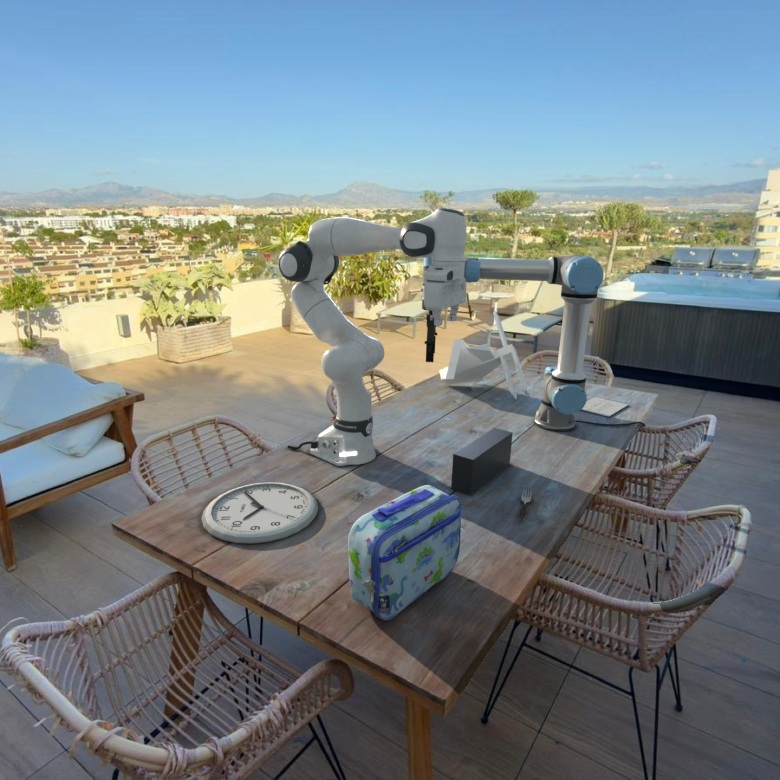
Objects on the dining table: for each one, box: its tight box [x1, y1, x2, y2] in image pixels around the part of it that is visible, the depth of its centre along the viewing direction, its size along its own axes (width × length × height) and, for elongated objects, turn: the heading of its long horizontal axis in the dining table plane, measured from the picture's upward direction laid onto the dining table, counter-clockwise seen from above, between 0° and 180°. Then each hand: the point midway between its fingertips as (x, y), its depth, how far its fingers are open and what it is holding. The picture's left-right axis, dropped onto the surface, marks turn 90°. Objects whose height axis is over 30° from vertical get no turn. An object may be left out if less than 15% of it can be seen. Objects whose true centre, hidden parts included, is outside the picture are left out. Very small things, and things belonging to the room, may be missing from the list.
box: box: [450, 427, 514, 496], centre depth 160 cm, size 26×6×11 cm, turn 143°
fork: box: [520, 488, 533, 521], centre depth 143 cm, size 3×16×2 cm, turn 160°
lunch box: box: [347, 484, 462, 621], centre depth 107 cm, size 26×11×21 cm, turn 134°
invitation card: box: [580, 396, 629, 418], centre depth 226 cm, size 21×1×15 cm
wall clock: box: [201, 481, 319, 544], centre depth 139 cm, size 30×2×30 cm
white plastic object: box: [438, 310, 531, 400], centre depth 245 cm, size 37×45×31 cm
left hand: (445, 323), depth 145 cm, fingers open, 8 cm apart
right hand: (430, 357), depth 189 cm, fingers open, 13 cm apart
